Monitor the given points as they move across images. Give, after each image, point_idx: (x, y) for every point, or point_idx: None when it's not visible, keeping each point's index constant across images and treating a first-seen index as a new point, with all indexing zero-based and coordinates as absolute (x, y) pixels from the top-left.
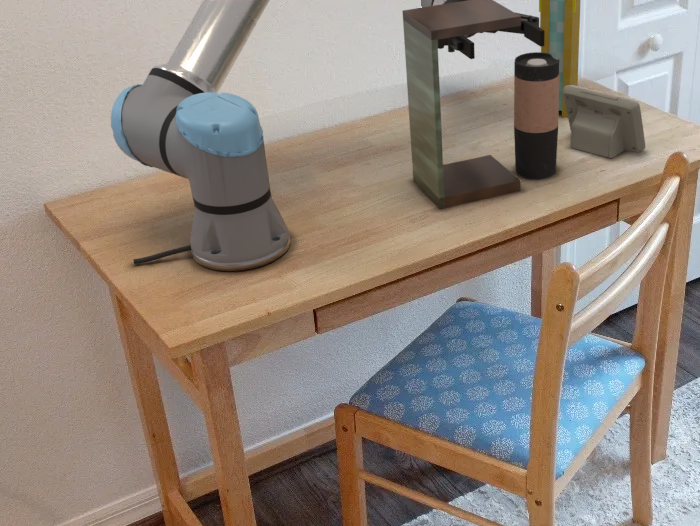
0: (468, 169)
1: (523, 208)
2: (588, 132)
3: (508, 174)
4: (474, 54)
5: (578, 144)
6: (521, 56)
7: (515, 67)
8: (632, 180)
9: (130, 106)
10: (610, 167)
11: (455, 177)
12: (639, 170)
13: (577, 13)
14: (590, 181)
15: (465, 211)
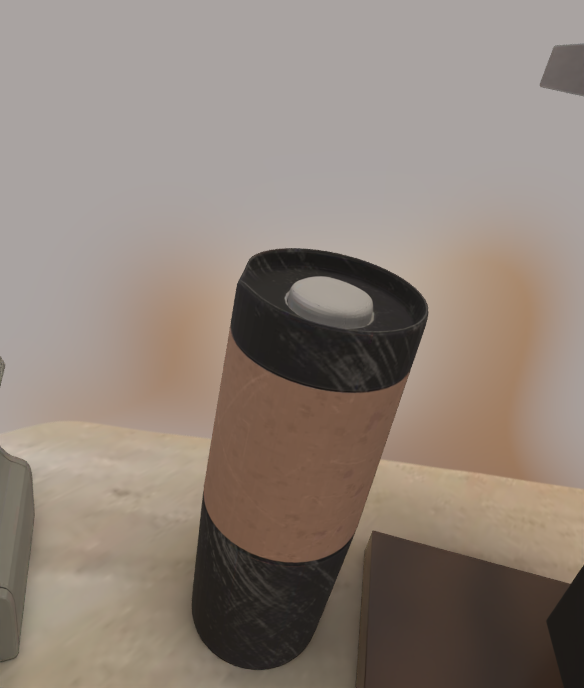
0: (485, 684)
1: (400, 496)
2: (22, 539)
3: (383, 573)
4: (560, 600)
5: (20, 611)
6: (358, 336)
7: (422, 334)
8: (120, 430)
9: None
10: (86, 491)
11: (541, 665)
12: (59, 443)
13: None
14: (191, 480)
15: (530, 566)
